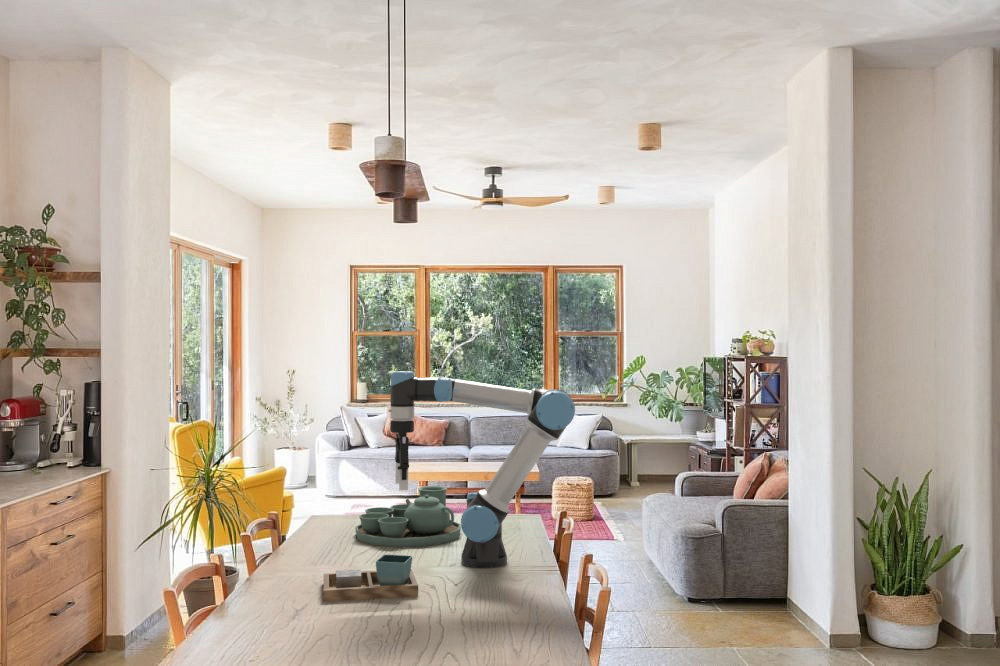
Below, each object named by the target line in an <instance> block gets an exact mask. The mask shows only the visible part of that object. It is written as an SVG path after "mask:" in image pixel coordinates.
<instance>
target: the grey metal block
mask: <svg viewBox="0 0 1000 666" xmlns="http://www.w3.org/2000/svg"><path fill="white" fill-rule="evenodd" d="M335 573H336V588H351V587H361V579H362V576H361V569H343V570H336V571H335Z"/></svg>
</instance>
